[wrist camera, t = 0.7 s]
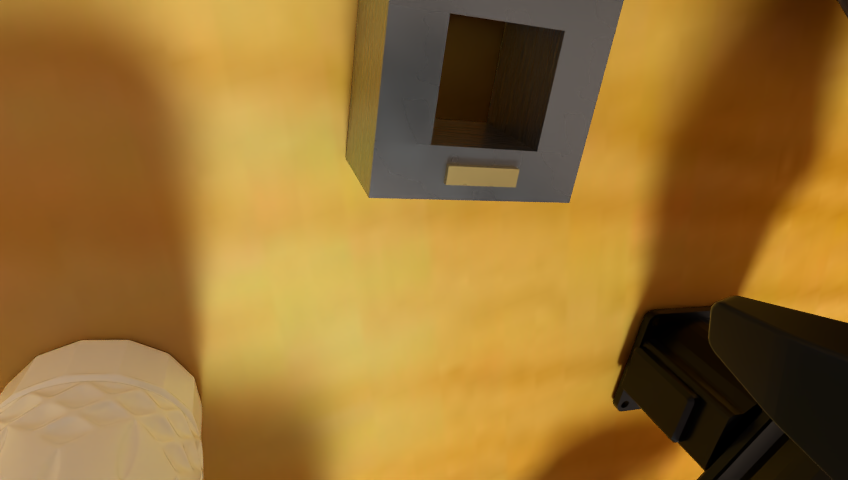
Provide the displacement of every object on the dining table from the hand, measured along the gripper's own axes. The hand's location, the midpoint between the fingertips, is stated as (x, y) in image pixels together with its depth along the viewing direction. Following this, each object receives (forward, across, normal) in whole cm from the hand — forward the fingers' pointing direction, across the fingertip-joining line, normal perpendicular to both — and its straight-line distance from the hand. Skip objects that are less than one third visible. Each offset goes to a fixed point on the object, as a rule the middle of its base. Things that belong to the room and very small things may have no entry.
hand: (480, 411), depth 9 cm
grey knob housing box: (+12, -4, -3) cm, 13 cm away
